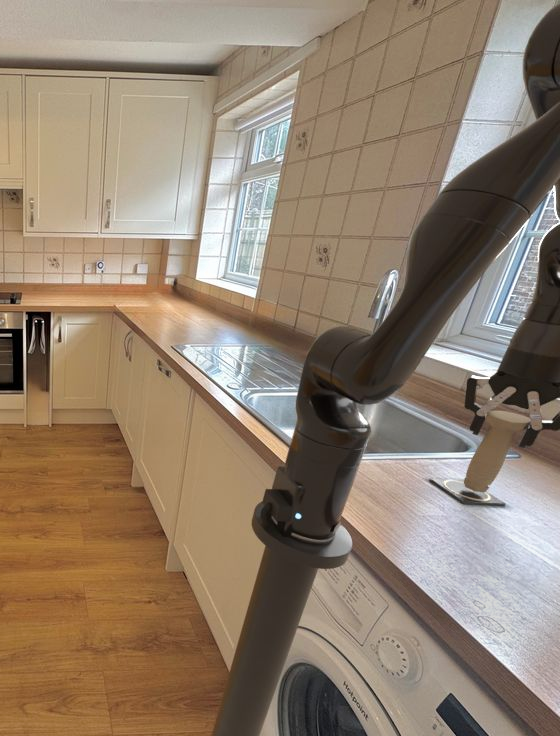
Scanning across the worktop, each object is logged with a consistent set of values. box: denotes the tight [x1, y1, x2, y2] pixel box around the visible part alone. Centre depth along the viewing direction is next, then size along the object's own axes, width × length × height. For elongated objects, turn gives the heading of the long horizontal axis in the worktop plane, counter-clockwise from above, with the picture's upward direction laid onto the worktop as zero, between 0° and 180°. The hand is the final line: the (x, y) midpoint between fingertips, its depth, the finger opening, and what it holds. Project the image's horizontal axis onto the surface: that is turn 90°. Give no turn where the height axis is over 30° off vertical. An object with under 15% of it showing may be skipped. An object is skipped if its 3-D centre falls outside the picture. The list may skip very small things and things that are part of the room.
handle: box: [463, 410, 531, 493], centre depth 74 cm, size 5×6×15 cm
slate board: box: [429, 478, 506, 507], centre depth 78 cm, size 8×8×1 cm
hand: (498, 439), depth 73 cm, fingers closed on handle, 5 cm apart
